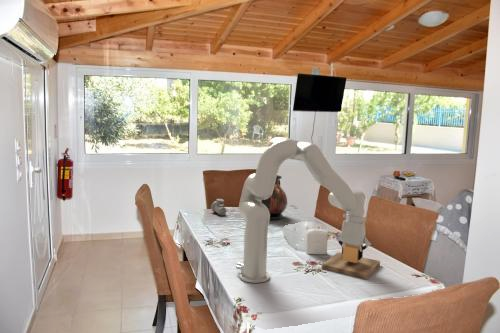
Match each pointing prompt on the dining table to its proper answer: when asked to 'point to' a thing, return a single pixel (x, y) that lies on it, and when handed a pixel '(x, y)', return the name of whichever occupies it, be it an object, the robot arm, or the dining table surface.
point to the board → (351, 266)
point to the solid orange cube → (350, 253)
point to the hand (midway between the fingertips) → (351, 257)
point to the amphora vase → (276, 201)
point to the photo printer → (316, 241)
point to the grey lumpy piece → (218, 207)
